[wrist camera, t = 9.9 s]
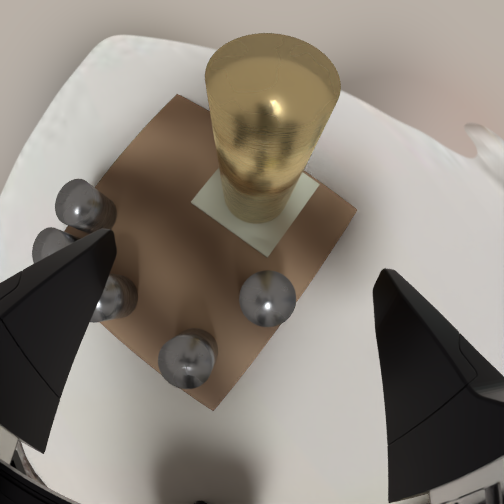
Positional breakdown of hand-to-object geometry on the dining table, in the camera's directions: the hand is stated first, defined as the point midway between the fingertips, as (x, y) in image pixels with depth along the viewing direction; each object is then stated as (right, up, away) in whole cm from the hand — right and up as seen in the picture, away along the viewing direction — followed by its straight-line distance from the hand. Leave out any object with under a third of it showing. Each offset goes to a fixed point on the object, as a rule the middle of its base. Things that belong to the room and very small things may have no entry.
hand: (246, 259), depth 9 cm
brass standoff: (0, +4, +11) cm, 12 cm away
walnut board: (-4, +1, +12) cm, 12 cm away
